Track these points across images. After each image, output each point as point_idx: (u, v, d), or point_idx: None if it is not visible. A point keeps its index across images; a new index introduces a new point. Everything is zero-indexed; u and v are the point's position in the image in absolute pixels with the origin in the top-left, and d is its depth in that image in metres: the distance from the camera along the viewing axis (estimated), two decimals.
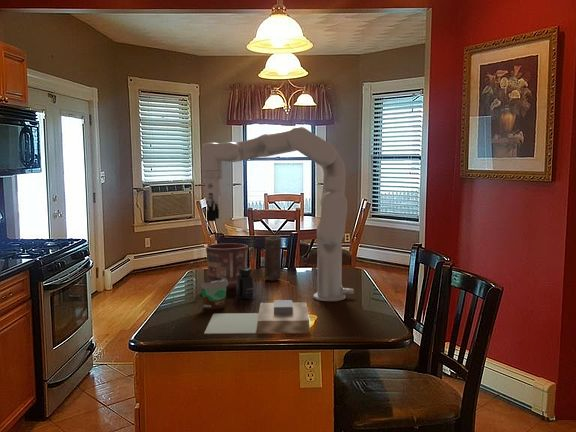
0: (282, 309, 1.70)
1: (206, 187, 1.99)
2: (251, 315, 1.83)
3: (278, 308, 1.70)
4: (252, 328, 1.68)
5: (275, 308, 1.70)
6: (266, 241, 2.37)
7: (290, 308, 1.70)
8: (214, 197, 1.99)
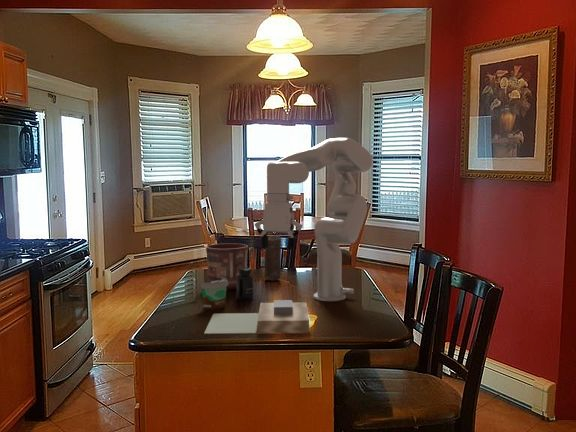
0: (282, 309, 1.70)
1: (288, 212, 1.78)
2: (251, 315, 1.83)
3: (278, 308, 1.70)
4: (252, 328, 1.68)
5: (275, 308, 1.70)
6: None
7: (290, 308, 1.70)
8: None
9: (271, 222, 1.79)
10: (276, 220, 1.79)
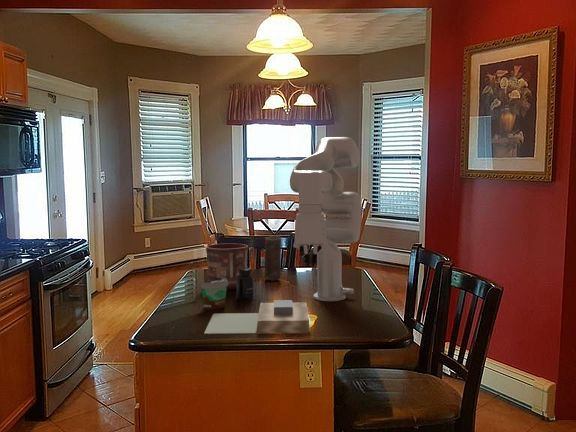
0: (282, 309, 1.70)
1: (324, 223, 1.70)
2: (251, 315, 1.83)
3: (278, 308, 1.70)
4: (252, 328, 1.68)
5: (275, 308, 1.70)
6: (266, 241, 2.37)
7: (290, 308, 1.70)
8: None
9: (306, 235, 1.70)
10: (311, 232, 1.70)
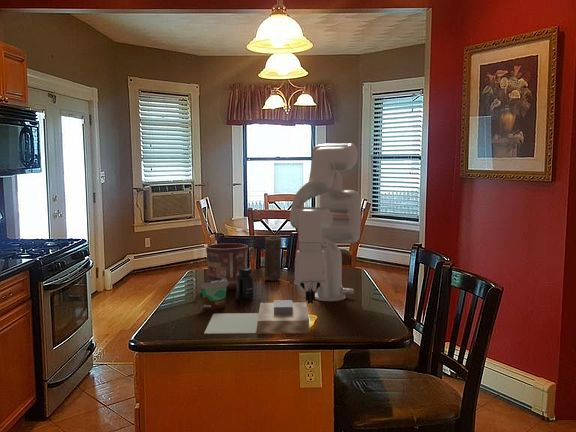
0: (282, 309, 1.70)
1: (324, 261, 1.71)
2: (251, 315, 1.83)
3: (278, 308, 1.70)
4: (252, 328, 1.68)
5: (275, 308, 1.70)
6: (266, 241, 2.37)
7: (290, 308, 1.70)
8: None
9: (306, 272, 1.71)
10: (311, 270, 1.70)
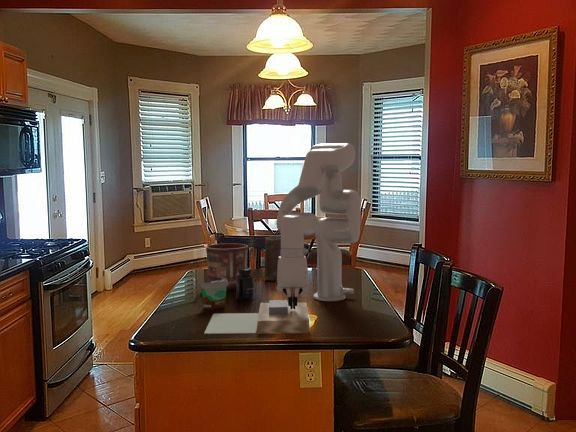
0: (277, 309, 1.70)
1: (306, 267, 1.71)
2: (251, 315, 1.83)
3: (273, 308, 1.70)
4: (252, 328, 1.68)
5: (270, 308, 1.70)
6: (266, 241, 2.37)
7: (285, 308, 1.70)
8: None
9: (288, 278, 1.71)
10: (293, 276, 1.71)
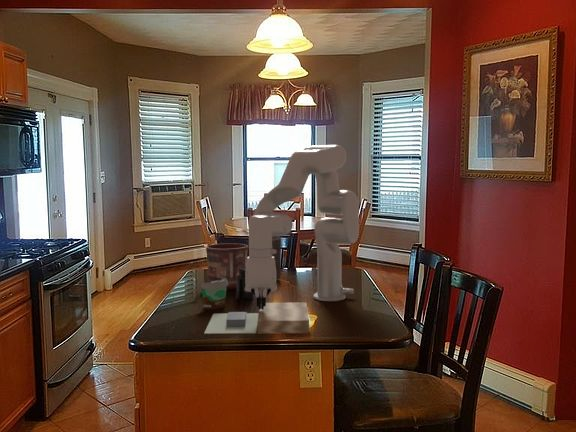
0: (236, 324, 1.69)
1: (274, 267, 1.71)
2: (251, 315, 1.83)
3: (240, 325, 1.69)
4: (252, 328, 1.68)
5: (243, 325, 1.69)
6: None
7: (228, 325, 1.69)
8: (276, 277, 1.75)
9: (256, 278, 1.71)
10: (261, 276, 1.71)
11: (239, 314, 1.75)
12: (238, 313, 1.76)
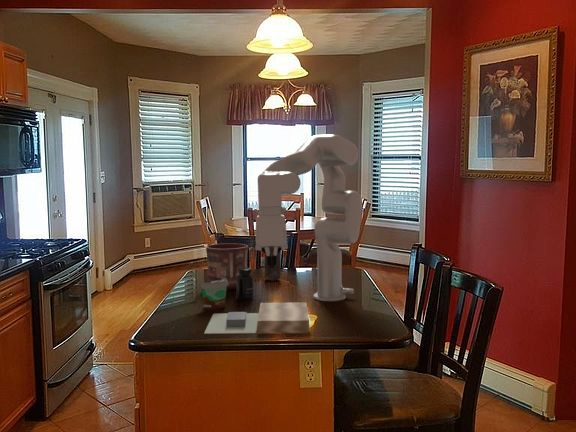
0: (236, 324, 1.69)
1: (284, 225, 1.70)
2: (251, 315, 1.83)
3: (240, 325, 1.69)
4: (252, 328, 1.68)
5: (243, 325, 1.69)
6: None
7: (228, 325, 1.69)
8: None
9: (266, 237, 1.70)
10: (272, 234, 1.70)
11: (239, 314, 1.75)
12: (238, 313, 1.76)
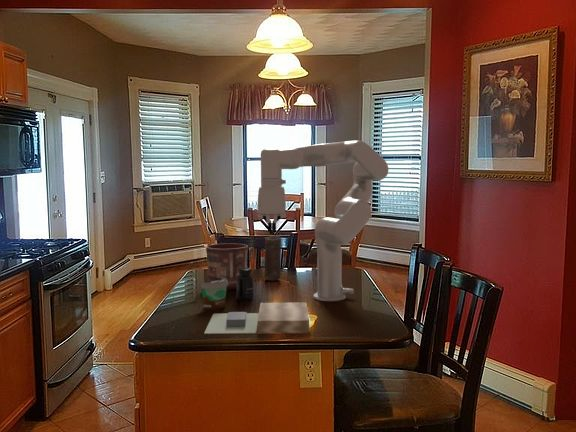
0: (236, 324, 1.69)
1: (284, 195, 1.90)
2: (251, 315, 1.83)
3: (240, 325, 1.69)
4: (252, 328, 1.68)
5: (243, 325, 1.69)
6: (266, 241, 2.37)
7: (228, 325, 1.69)
8: None
9: (267, 205, 1.90)
10: (272, 203, 1.90)
11: (239, 314, 1.75)
12: (238, 313, 1.76)
